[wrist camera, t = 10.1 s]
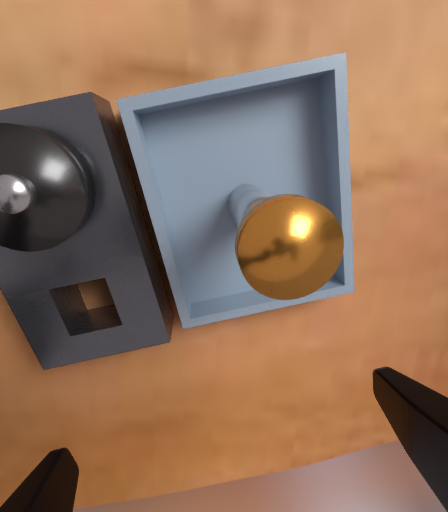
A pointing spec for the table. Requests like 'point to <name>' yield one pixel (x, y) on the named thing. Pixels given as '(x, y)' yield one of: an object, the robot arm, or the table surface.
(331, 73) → the tray
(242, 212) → the lock pin
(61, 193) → the grey holder base
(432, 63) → the table surface
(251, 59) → the table surface
